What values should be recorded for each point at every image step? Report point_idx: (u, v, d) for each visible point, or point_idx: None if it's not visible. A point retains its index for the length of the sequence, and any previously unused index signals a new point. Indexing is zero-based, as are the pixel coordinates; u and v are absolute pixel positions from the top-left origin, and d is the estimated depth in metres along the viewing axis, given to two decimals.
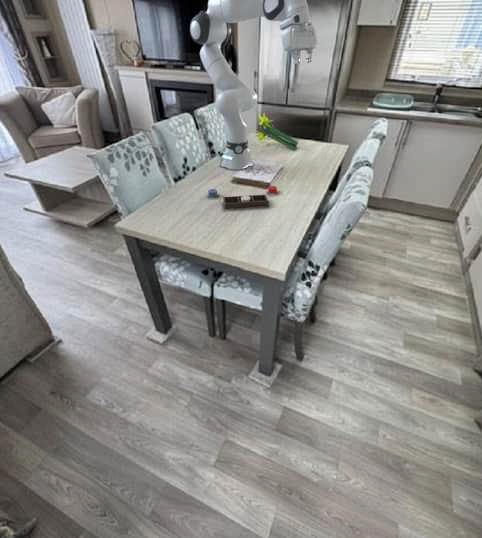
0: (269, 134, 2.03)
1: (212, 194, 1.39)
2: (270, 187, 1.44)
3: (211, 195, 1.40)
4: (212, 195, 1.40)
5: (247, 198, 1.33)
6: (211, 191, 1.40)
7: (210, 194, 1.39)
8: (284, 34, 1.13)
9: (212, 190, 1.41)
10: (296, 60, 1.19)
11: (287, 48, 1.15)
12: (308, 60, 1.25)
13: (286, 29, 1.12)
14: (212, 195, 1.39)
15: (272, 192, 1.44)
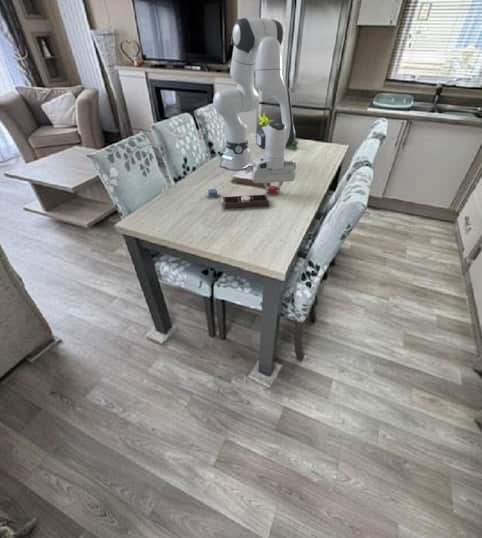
0: None
1: (212, 194, 1.39)
2: (270, 187, 1.44)
3: (211, 195, 1.40)
4: (212, 195, 1.40)
5: (247, 198, 1.33)
6: (211, 191, 1.40)
7: (210, 194, 1.39)
8: (253, 170, 1.38)
9: (212, 190, 1.41)
10: (265, 189, 1.44)
11: (252, 180, 1.40)
12: None
13: (254, 168, 1.37)
14: (212, 195, 1.39)
15: (272, 192, 1.44)
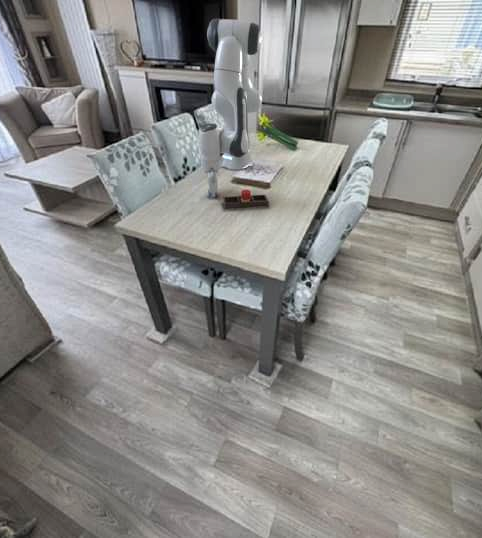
0: (269, 134, 2.03)
1: None
2: (243, 191, 1.31)
3: None
4: None
5: None
6: None
7: (210, 194, 1.39)
8: None
9: None
10: None
11: None
12: None
13: None
14: None
15: (245, 197, 1.31)
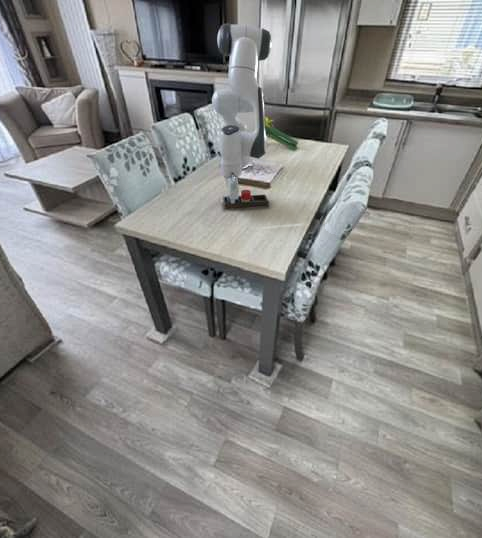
0: (269, 134, 2.03)
1: None
2: (243, 191, 1.31)
3: (230, 201, 1.31)
4: None
5: None
6: None
7: (229, 200, 1.31)
8: None
9: None
10: None
11: None
12: None
13: None
14: None
15: (245, 197, 1.31)
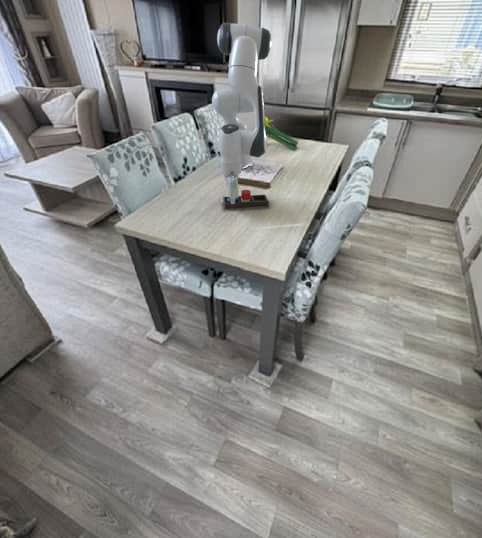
0: (269, 134, 2.03)
1: None
2: (243, 191, 1.31)
3: None
4: None
5: None
6: None
7: (229, 202, 1.32)
8: None
9: None
10: None
11: None
12: None
13: None
14: None
15: (245, 197, 1.31)
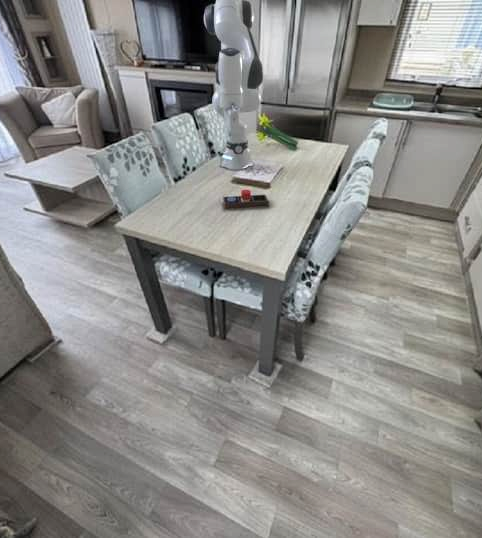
0: (269, 134, 2.03)
1: None
2: (243, 191, 1.31)
3: None
4: None
5: None
6: (230, 199, 1.32)
7: (229, 202, 1.32)
8: None
9: (231, 198, 1.33)
10: None
11: None
12: None
13: None
14: None
15: (245, 197, 1.31)
